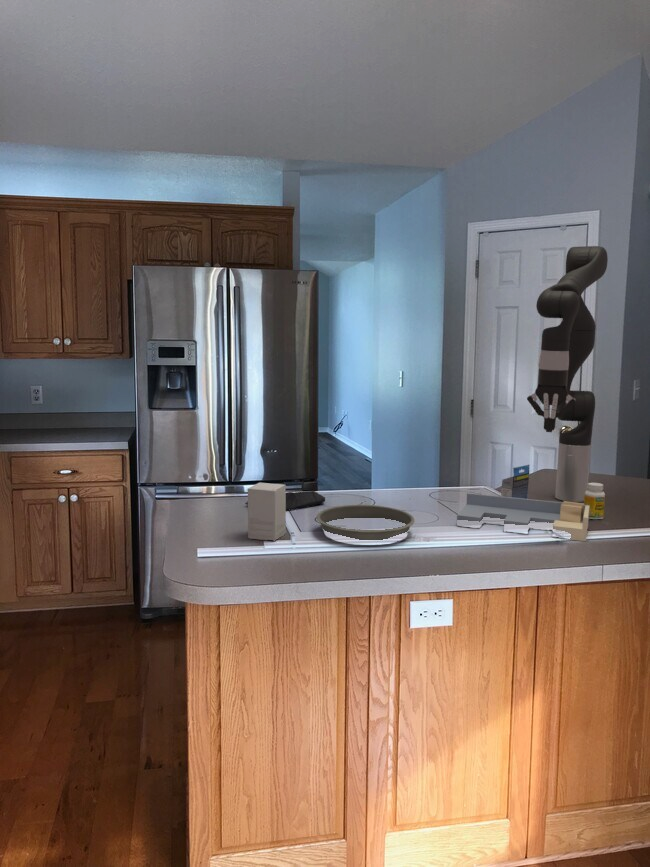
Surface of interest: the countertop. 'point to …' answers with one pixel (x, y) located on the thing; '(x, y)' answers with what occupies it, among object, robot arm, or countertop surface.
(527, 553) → the countertop surface
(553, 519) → the tray
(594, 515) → the supplement bottle
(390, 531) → the cake pan
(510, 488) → the label tape box
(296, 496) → the dark slate chunk
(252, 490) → the supplement box
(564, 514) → the maple block
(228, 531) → the countertop surface
